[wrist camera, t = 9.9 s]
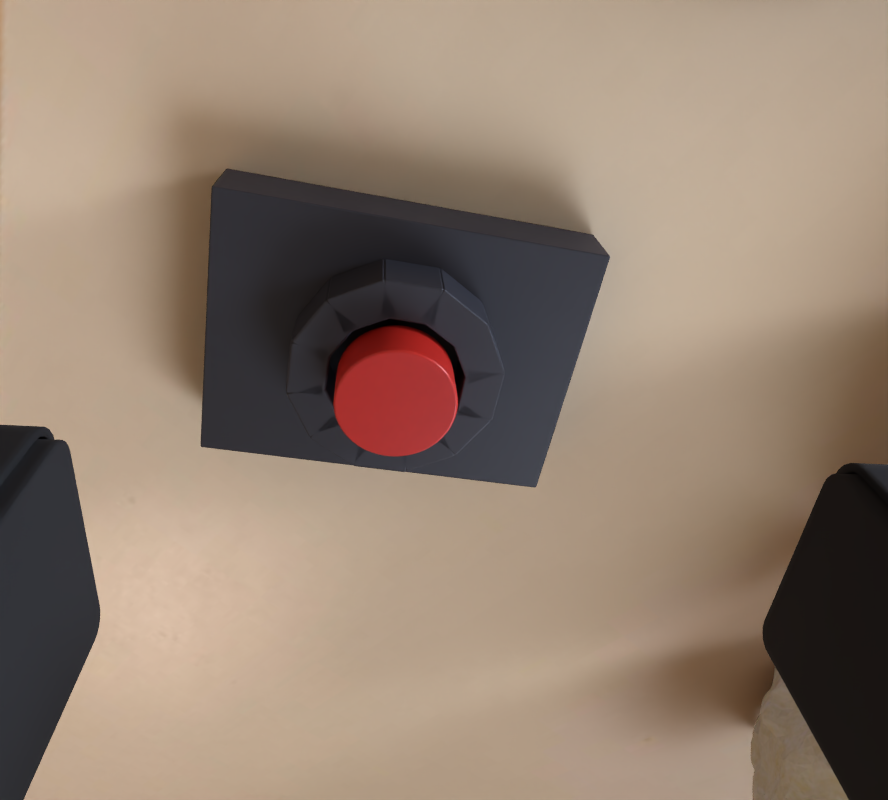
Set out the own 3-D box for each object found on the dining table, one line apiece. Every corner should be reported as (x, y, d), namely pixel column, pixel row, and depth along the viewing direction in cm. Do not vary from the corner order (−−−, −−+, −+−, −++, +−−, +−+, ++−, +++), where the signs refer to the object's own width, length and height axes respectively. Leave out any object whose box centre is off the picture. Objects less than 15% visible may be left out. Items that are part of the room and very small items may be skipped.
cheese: (911, 509, 34) (748, 735, 27) (1078, 619, 31) (948, 912, 24) (774, 646, 46) (632, 832, 38) (887, 737, 43) (756, 961, 35)
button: (330, 418, 23) (326, 449, 22) (344, 315, 22) (341, 341, 20) (441, 433, 24) (444, 464, 22) (464, 333, 22) (470, 360, 21)
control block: (213, 413, 27) (188, 478, 24) (225, 167, 23) (197, 203, 19) (526, 454, 29) (545, 519, 26) (593, 234, 25) (627, 277, 21)
